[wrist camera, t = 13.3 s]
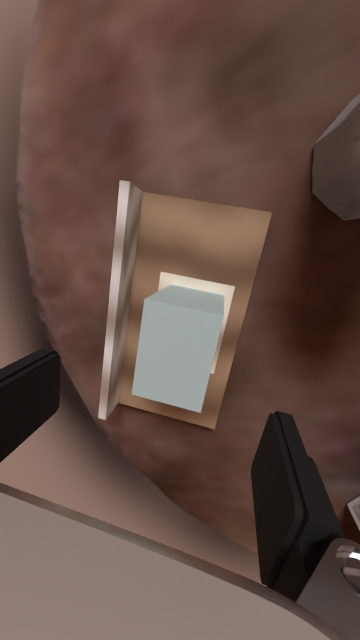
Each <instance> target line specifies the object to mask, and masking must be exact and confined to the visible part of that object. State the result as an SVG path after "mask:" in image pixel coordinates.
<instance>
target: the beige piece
mask: <svg viewBox="0 0 360 640" xmlns="http://www.w3.org/2000/svg"><path fill="white" fill-rule="evenodd" d="M271 215H272V212H267V211H260V210H254V209H248V208H241V207H235V206H229V205H222V204H216V203H210V202H203V201H197V200H191V199H184V198H178V197H172V196H165V195H159V194H153V193H146V192H142V191H141V190H140V189H138V188H137V187H136V186H135V185H133V184H132V183H131V182H128V181H122V180H120V186H119V197H118V208H117V219H116V230H115V241H114V252H113V262H112V273H111V284H110V295H109V306H108V317H107V328H106V339H105V350H104V361H103V372H102V383H101V393H100V404H99V415H98V418H101V419H104V420H106V419H107V417H108V416H109V414H110V413H111V412H112V410H113V409H114V408H115V406H116V405H117V403H121V404H124V405H128V406H132V407H135V408H139V409H142V410H146V411H150V412H153V413H157V414H161V415H164V416H168V417H171V418H175V419H179V420H182V421H186V422H189V423H193V424H197V425H200V426H204V427H207V428H211V429H215V426H216V422H217V418H218V414H219V411H220V407H221V403H222V399H223V396H224V392H225V388H226V384H227V381H228V377H229V373H230V369H231V366H232V362H233V358H234V354H235V351H236V347H237V343H238V339H239V335H240V332H241V328H242V324H243V320H244V317H245V313H246V309H247V305H248V302H249V298H250V294H251V290H252V287H253V283H254V279H255V275H256V272H257V268H258V264H259V260H260V257H261V253H262V249H263V245H264V241H265V238H266V234H267V230H268V226H269V223H270V219H271ZM171 284H172V285H177V286H182V287H187V288H192V289H197V290H202V291H207V292H211V293H216V294H221V295H224V317H223V322H222V326H221V330H220V334H219V338H218V343H217V347H216V351H215V355H214V359H213V364H212V368H211V372H210V376H209V380H208V385H207V389H206V393H205V397H204V401H203V405H202V410H201V413H199V412H195V411H191V410H188V409H184V408H180V407H177V406H173V405H169V404H165V403H162V402H158V401H154V400H151V399H147V398H143V397H140V396H136V395H132V388H133V380H134V373H135V366H136V358H137V351H138V343H139V336H140V329H141V321H142V314H143V306H144V299H145V298H147V297H149V296H151V295H153V294H154V293H156V292H158V291H160V290H162V289H164V288H166V287H168V286H169V285H171Z"/></svg>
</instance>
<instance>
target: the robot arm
mask: <svg viewBox="0 0 360 640" xmlns="http://www.w3.org/2000/svg"><path fill="white" fill-rule="evenodd" d="M59 400H60V356H59V355H58V352H57V351H54V350H51V349H47V348H42V349H40V350H38V351H36V352H34V353H32V354H30V355H28V356H26V357H24V358H22V359H20V360H18V361H16V362H14V363H12V364H10V365H8V366H6V367H4V368H2V369H0V462H1V461H3V459H5V458H6V457H7V456H8V455H9V454H10V453H11V452H12V451H14V450H15V449H16V448H17V447H18V446H19V445H20V444H21V443H22V442H24V441H25V440H26V439H27V438H28V437H29V436H30V435H31V434H32V433H34V431H36V430H37V429H38V428H39V427H40V426H41V425H42V424H43V423H45V422H46V421H47V420H48V419H49V418H50V417H51V416H52V415H53V414H54V413H55V412H56V411H57V410H58V408H59ZM251 479H252V490H253V501H254V512H255V523H256V534H257V545H258V556H259V567H260V577H261V582H262V584H264V585H267V587H266V586H263V585H261V584H259V583H257V582H255V581H253V580H251V579H248V578H246V577H244V576H241V575H239V574H236V573H234V572H231V571H229V570H226V569H224V568H222V567H219V566H216V565H214V564H212V563H209V562H207V561H204V560H202V559H200V558H197V557H195V556H192V555H190V554H187V553H184V552H182V551H179V550H177V549H174V548H171V547H169V546H166V545H163V544H161V543H158V542H156V541H153V540H151V539H148V538H145V537H143V536H140V535H138V534H135V533H132V532H130V531H127V530H124V529H122V528H119V527H117V526H114V525H112V524H109V523H106V522H104V521H101V520H98V519H96V518H93V517H90V516H88V515H85V514H82V513H80V512H77V511H75V510H72V509H69V508H67V507H64V506H61V505H59V504H56V503H53V502H50V501H48V500H45V499H43V498H40V497H37V496H34V495H32V494H29V493H27V492H24V491H21V490H18V489H15V488H13V487H10V486H8V485H5V484H2V483H0V640H360V544H358V543H356V542H354V541H352V540H349V539H345V537H344V534H343V532H342V529H341V527H340V524H339V522H338V519H337V517H336V514H335V512H334V509H333V507H332V504H331V502H330V499H329V497H328V494H327V492H326V489H325V487H324V484H323V482H322V479H321V477H320V474H319V472H318V469H317V467H316V464H315V462H314V460H313V459H312V458H311V457H308V455H307V453H306V450H305V448H304V445H303V442H302V440H301V437H300V434H299V432H298V429H297V426H296V424H295V421H294V419H293V416H292V415H290V414H286V413H283V412H279V411H276V412H275V413H274V414H272V413H270V414H269V417H268V420H267V423H266V425H265V428H264V431H263V434H262V437H261V440H260V443H259V446H258V449H257V451H256V454H255V457H254V460H253V463H252V467H251Z"/></svg>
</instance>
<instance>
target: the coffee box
mask: <svg viewBox="0 0 360 640" xmlns="http://www.w3.org/2000/svg"><path fill="white" fill-rule="evenodd" d="M347 506H348V508H349V510H350V512H351V514H352V517H353V518H354V520H355V523H356V525H357V527H358V529H359V531H360V496H358V497H357V498H355V499H354V500H352V501H350V502H349V503H347Z"/></svg>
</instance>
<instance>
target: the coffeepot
mask: <svg viewBox="0 0 360 640" xmlns="http://www.w3.org/2000/svg"><path fill="white" fill-rule="evenodd" d="M312 181H313V184H312V193H313V194H314V195H315V196H316V197H317V198H318V199H319V200H320V201H321V202H322V203H323V204H324V205H325V207H326V208H328V209H329V210H331V211H332V212H333V213H335V214H336V215H337V216H338V217H339V218H341V219H342V220H343V221H345V220H354V219H360V94H359V95H358V96H357V97H355V98H354V99H353V100H352V101H351V102H350V103H349V104H348V105H347V106H346V108H345V109H344V110H343V111H342V112H341V114H340V115H339V116H338V117H337V118H336V119H335V121H334V122H333V123H332V124H331V125H330V126H329V128H328V129H327V130H326V131H325V132H324V133H323V135H322V136H321V137H320V138H319V139H318V141H317V142H316V143H315V144H314V156H313V165H312Z"/></svg>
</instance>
